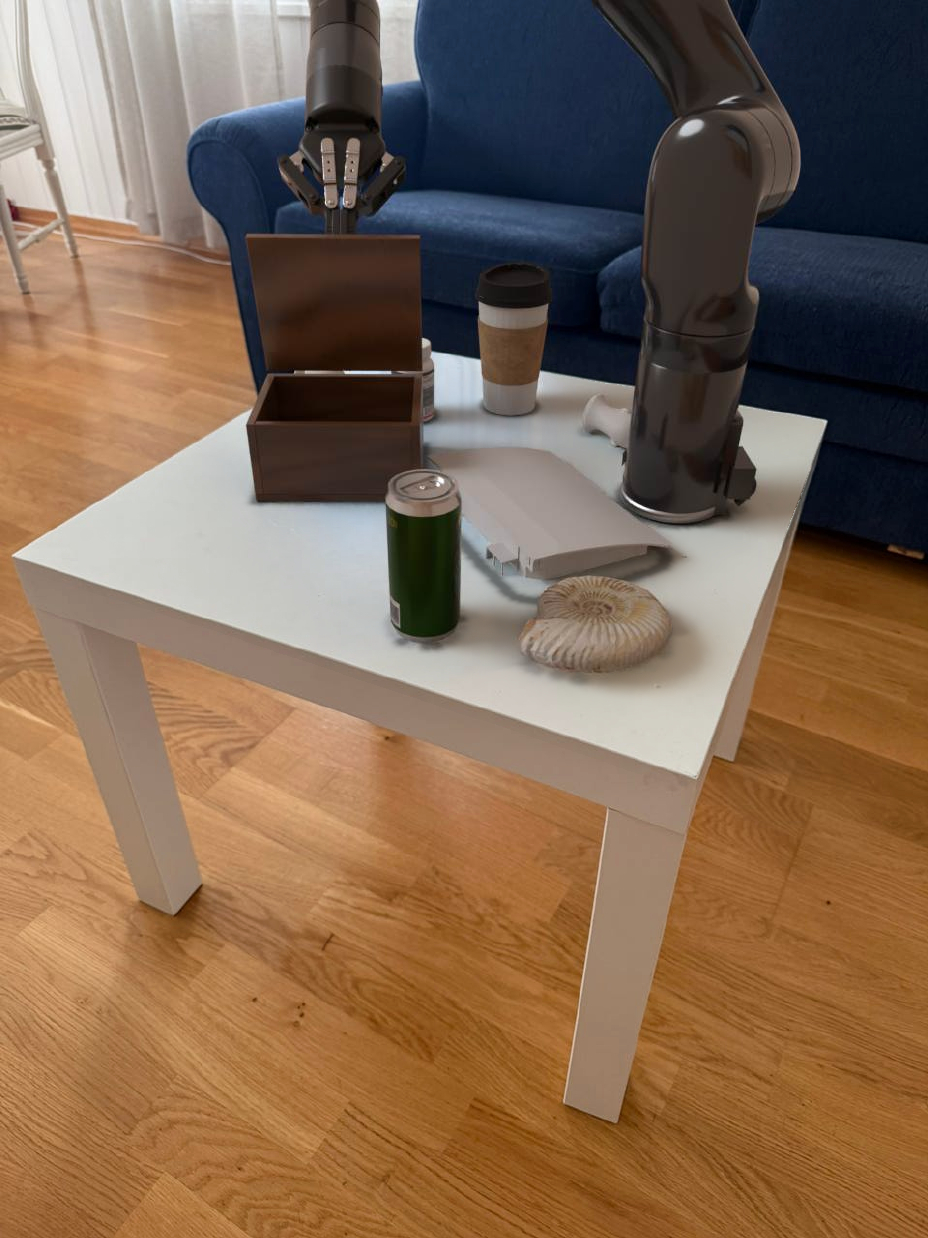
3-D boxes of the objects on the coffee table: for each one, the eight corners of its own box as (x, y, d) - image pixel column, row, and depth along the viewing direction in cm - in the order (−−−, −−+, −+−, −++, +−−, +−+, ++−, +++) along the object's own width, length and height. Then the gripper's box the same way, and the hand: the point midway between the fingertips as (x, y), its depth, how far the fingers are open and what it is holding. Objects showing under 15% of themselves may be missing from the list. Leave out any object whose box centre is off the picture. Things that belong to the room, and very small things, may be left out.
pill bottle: (388, 409, 104) (385, 337, 99) (428, 405, 105) (427, 333, 100) (398, 426, 100) (395, 351, 95) (439, 421, 101) (439, 347, 96)
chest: (421, 502, 86) (420, 425, 81) (256, 501, 86) (245, 424, 81) (423, 445, 96) (422, 373, 92) (276, 444, 96) (267, 373, 91)
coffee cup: (558, 401, 106) (568, 268, 97) (523, 426, 100) (530, 287, 92) (496, 386, 110) (500, 257, 101) (459, 409, 104) (460, 274, 95)
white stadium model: (520, 613, 72) (523, 572, 70) (408, 490, 89) (406, 454, 87) (677, 569, 78) (684, 530, 76) (543, 461, 95) (545, 426, 92)
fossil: (657, 680, 61) (525, 611, 62) (627, 727, 64) (502, 661, 65) (692, 586, 70) (576, 528, 71) (664, 631, 73) (553, 575, 74)
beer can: (413, 654, 67) (409, 511, 60) (377, 618, 71) (370, 479, 64) (473, 630, 69) (476, 490, 62) (436, 597, 73) (435, 461, 66)
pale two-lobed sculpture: (650, 458, 97) (616, 455, 94) (604, 430, 102) (570, 426, 99) (666, 420, 95) (632, 415, 92) (617, 393, 100) (584, 388, 97)
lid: (419, 238, 81) (420, 234, 82) (245, 237, 81) (246, 233, 82) (422, 371, 91) (422, 367, 92) (266, 370, 91) (267, 366, 91)
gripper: (270, 60, 86) (264, 228, 84) (409, 62, 87) (407, 229, 84) (283, 116, 94) (279, 271, 91) (411, 118, 94) (410, 272, 91)
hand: (340, 251), depth 87 cm, fingers closed
